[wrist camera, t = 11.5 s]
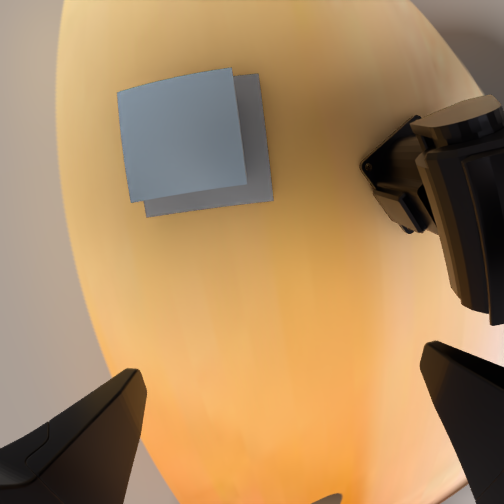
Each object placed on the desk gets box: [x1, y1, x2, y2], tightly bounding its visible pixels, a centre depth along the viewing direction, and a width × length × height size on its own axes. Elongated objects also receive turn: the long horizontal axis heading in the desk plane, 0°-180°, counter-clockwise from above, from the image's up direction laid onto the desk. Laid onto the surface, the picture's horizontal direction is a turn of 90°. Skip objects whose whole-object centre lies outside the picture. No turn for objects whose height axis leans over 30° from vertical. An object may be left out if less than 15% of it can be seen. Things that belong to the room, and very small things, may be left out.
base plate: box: [144, 74, 274, 217], centre depth 16 cm, size 8×8×4 cm
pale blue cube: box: [117, 68, 247, 203], centre depth 14 cm, size 5×5×6 cm
